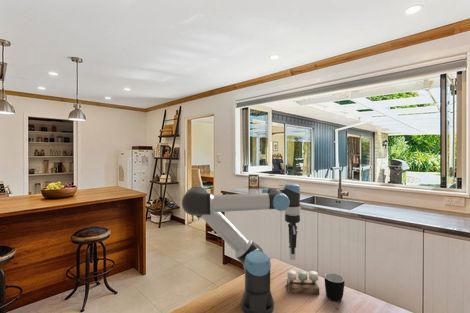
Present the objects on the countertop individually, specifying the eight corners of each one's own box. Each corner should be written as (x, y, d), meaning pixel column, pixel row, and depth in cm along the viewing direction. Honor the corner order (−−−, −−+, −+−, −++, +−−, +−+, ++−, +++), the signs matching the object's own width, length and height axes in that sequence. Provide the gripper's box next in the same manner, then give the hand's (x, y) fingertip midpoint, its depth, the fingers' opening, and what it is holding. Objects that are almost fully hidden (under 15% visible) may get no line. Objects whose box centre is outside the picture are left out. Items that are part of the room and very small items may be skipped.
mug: (346, 304, 116) (347, 283, 116) (326, 302, 118) (327, 281, 117) (339, 290, 128) (339, 270, 128) (321, 288, 129) (321, 269, 129)
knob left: (288, 284, 127) (288, 274, 127) (286, 280, 132) (287, 270, 131) (296, 285, 127) (296, 274, 127) (295, 280, 131) (295, 270, 131)
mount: (288, 293, 125) (289, 287, 125) (286, 284, 133) (286, 278, 133) (319, 294, 124) (319, 288, 124) (315, 285, 132) (315, 280, 132)
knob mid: (299, 285, 127) (299, 274, 127) (297, 280, 131) (297, 270, 131) (307, 285, 126) (307, 274, 126) (306, 280, 131) (306, 270, 131)
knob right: (310, 285, 126) (310, 275, 126) (308, 280, 131) (308, 270, 131) (318, 285, 126) (319, 275, 126) (316, 281, 130) (316, 271, 130)
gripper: (302, 217, 121) (302, 265, 122) (297, 210, 134) (297, 254, 135) (286, 217, 122) (286, 264, 123) (283, 210, 135) (283, 253, 136)
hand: (292, 259), depth 129 cm, fingers closed
